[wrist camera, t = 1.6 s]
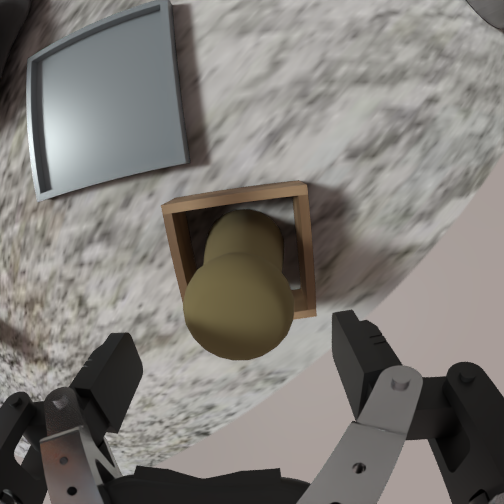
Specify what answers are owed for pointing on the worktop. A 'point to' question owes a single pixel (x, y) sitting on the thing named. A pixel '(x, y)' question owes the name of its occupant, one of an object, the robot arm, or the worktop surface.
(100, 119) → the tray
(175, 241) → the holder
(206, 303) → the cork
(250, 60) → the worktop surface
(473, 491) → the robot arm
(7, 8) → the casserole
